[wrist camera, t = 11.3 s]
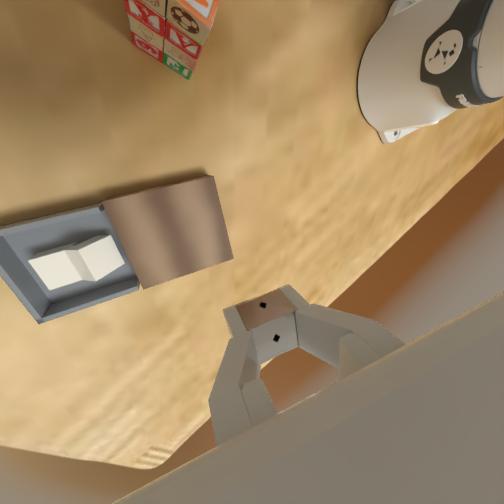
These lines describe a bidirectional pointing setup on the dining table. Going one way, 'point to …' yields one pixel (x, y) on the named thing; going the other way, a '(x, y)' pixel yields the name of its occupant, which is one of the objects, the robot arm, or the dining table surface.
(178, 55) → the stack of blocks
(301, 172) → the dining table surface
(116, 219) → the board
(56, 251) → the tile
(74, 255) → the tile
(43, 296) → the tray
